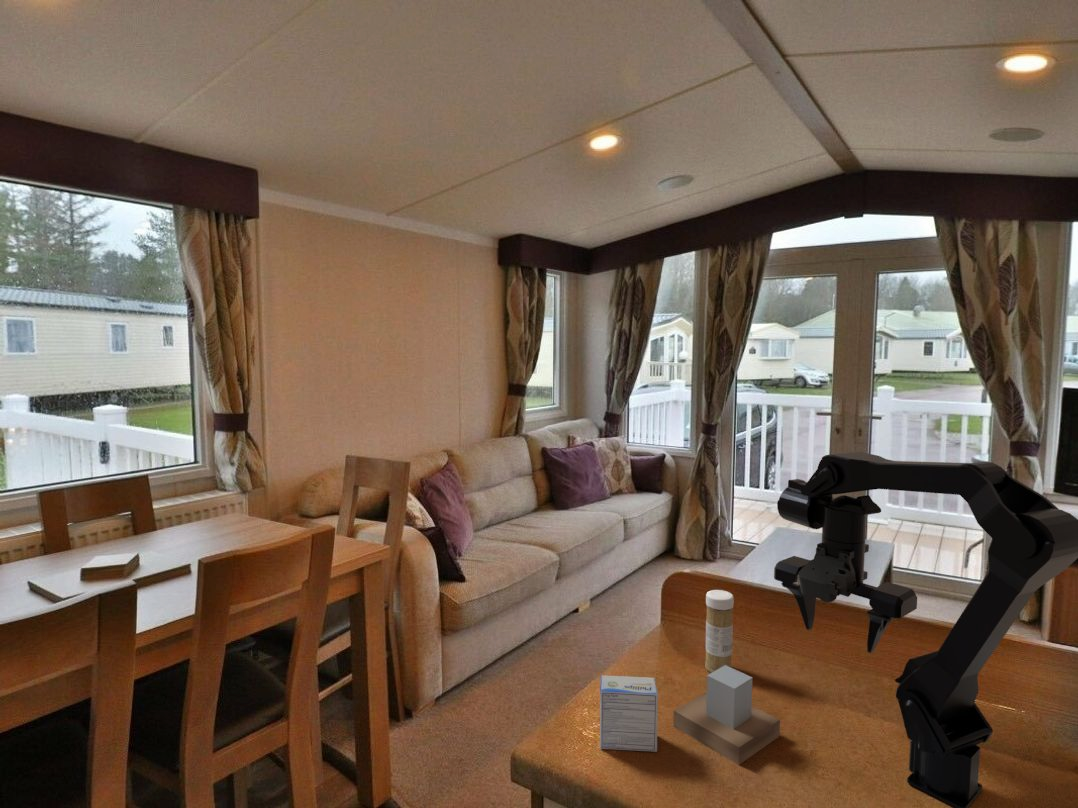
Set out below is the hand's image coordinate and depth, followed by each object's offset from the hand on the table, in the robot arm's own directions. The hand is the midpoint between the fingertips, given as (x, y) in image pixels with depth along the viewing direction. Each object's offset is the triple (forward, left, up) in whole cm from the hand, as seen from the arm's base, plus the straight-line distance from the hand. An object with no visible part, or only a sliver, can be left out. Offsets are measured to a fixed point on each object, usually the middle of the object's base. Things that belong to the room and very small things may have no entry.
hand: (838, 640), depth 93 cm
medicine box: (+15, +29, -12) cm, 35 cm away
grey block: (+8, +16, -10) cm, 20 cm away
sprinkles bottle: (+19, +2, -12) cm, 23 cm away
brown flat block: (+8, +16, -13) cm, 22 cm away
